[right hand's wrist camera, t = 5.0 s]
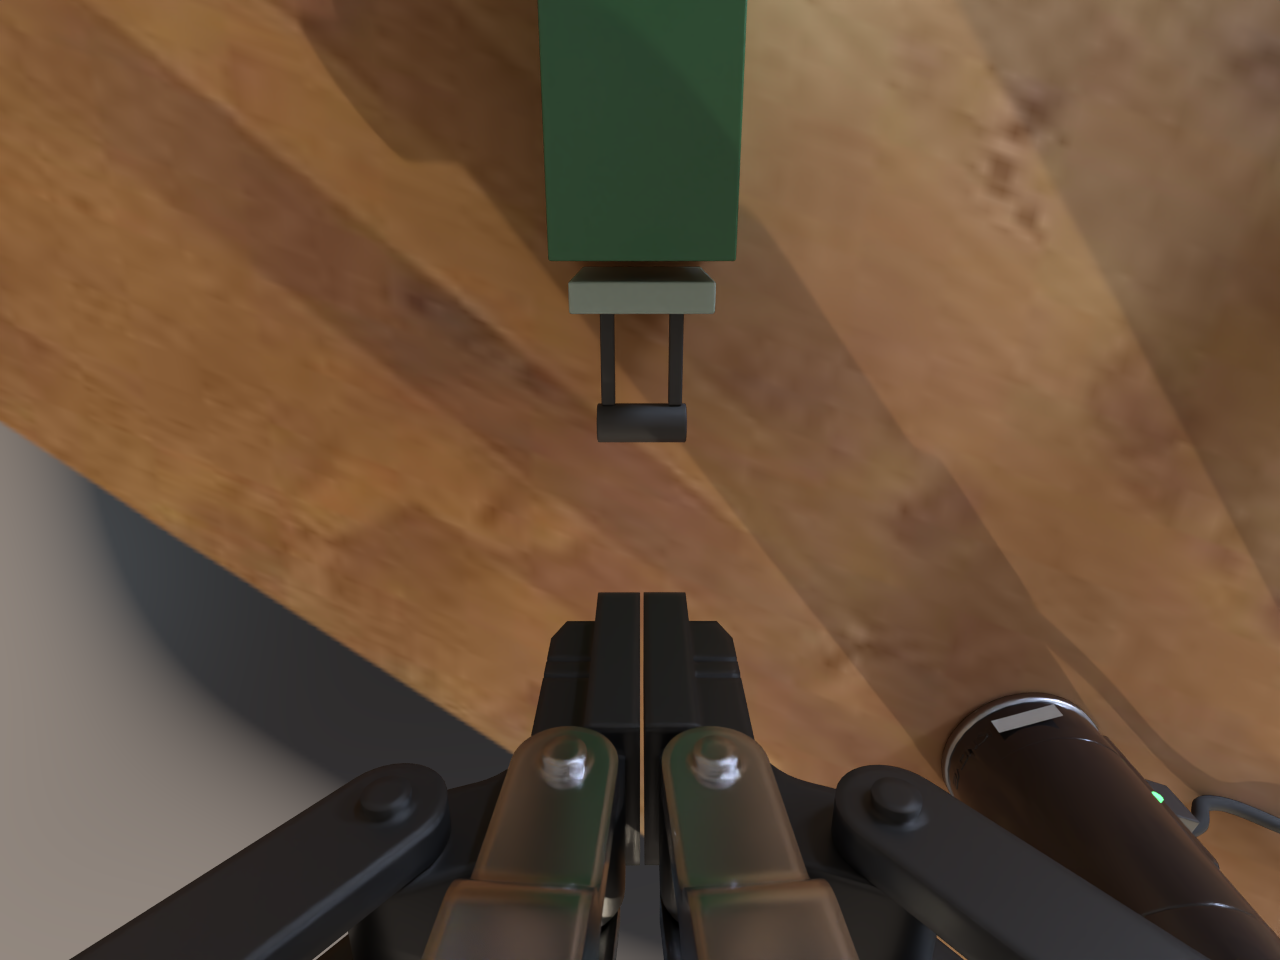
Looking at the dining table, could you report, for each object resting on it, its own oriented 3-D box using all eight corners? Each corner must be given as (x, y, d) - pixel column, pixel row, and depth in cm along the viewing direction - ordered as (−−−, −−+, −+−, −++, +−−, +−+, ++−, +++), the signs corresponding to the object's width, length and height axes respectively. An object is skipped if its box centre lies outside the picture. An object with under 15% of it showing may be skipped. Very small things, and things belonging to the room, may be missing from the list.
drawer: (696, 420, 37) (709, 469, 30) (586, 420, 37) (574, 469, 30) (714, -248, 28) (739, -398, 21) (569, -248, 28) (545, -398, 21)
